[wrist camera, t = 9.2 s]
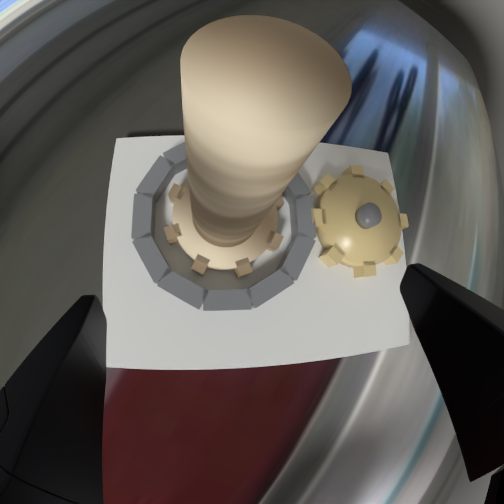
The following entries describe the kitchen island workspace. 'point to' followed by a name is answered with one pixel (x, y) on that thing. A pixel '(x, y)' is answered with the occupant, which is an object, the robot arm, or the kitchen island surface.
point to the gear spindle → (248, 133)
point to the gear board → (255, 268)
